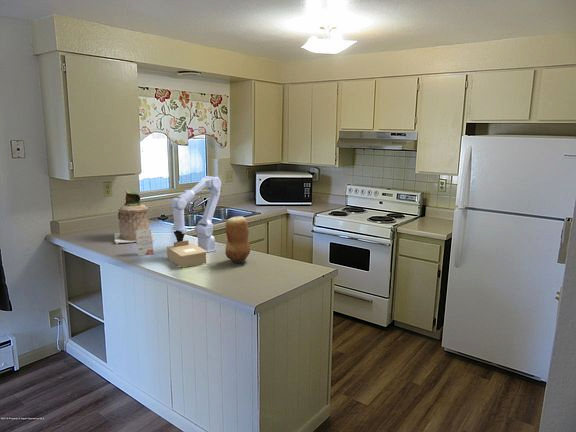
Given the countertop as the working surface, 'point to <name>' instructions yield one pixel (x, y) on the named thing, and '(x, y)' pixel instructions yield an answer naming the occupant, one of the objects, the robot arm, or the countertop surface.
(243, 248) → the butternut squash
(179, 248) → the mailer lid
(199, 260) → the mailer box
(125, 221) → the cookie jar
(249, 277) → the countertop surface
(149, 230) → the ink cartridge box
